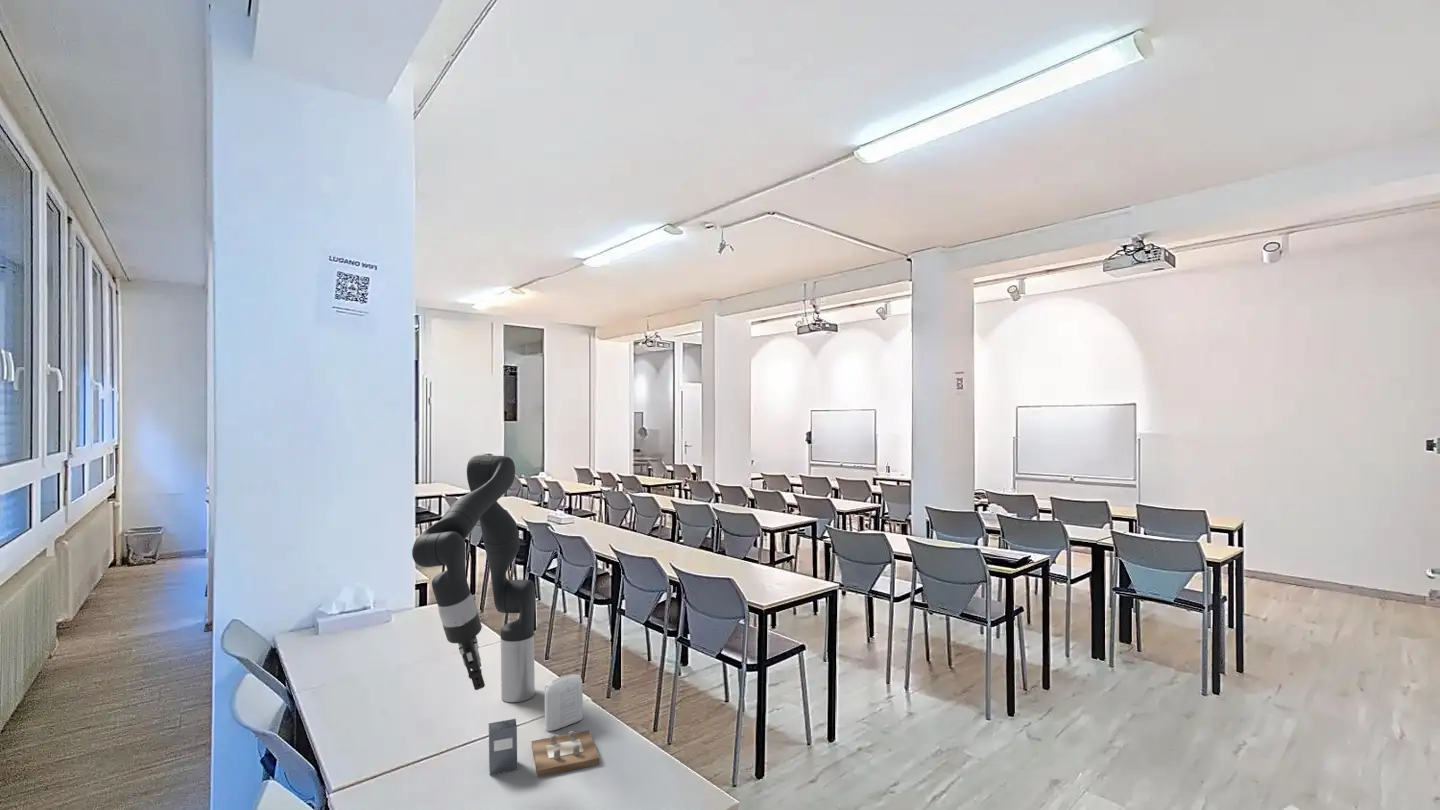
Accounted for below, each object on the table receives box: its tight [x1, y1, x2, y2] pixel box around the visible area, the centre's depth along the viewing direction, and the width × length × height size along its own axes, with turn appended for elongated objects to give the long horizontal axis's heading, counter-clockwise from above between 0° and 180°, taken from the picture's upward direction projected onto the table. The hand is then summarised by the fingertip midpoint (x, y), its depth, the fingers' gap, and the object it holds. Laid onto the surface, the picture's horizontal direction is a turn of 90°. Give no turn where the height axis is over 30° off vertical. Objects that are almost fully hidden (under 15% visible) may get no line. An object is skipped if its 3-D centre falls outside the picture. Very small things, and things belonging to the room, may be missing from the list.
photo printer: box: [544, 673, 584, 732], centre depth 173 cm, size 10×4×12 cm, turn 134°
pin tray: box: [531, 729, 601, 778], centre depth 157 cm, size 14×14×4 cm
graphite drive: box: [488, 718, 518, 776], centre depth 152 cm, size 4×6×10 cm
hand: (478, 677), depth 150 cm, fingers open, 8 cm apart
